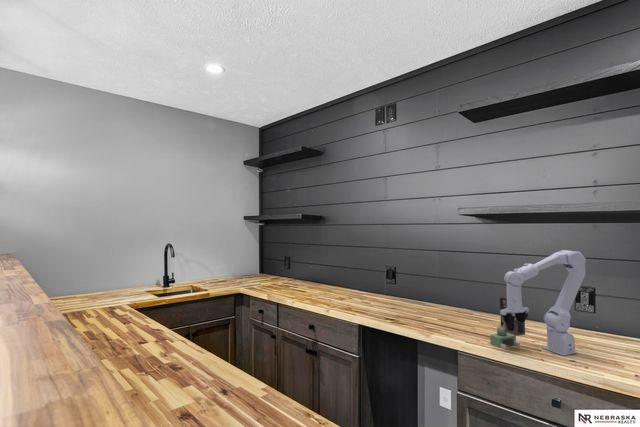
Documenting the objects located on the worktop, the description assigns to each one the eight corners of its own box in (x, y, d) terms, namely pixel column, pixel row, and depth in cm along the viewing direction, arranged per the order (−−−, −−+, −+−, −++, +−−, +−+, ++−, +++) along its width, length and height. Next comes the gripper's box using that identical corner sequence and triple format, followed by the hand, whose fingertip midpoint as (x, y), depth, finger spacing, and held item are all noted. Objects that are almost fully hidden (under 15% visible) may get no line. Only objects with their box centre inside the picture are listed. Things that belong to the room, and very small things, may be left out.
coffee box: (500, 327, 182) (499, 297, 183) (509, 326, 185) (508, 296, 185) (515, 332, 174) (514, 300, 174) (524, 330, 176) (523, 299, 177)
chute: (505, 331, 153) (504, 320, 153) (513, 330, 155) (513, 319, 155) (516, 335, 148) (516, 324, 148) (525, 334, 149) (524, 323, 149)
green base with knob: (520, 346, 154) (520, 330, 154) (504, 349, 151) (503, 333, 151) (506, 341, 161) (506, 326, 161) (490, 343, 158) (489, 328, 158)
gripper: (509, 302, 145) (510, 334, 145) (534, 299, 150) (535, 330, 150) (495, 298, 152) (496, 329, 152) (520, 296, 157) (521, 326, 156)
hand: (515, 329), depth 151 cm, fingers closed on chute, 5 cm apart
